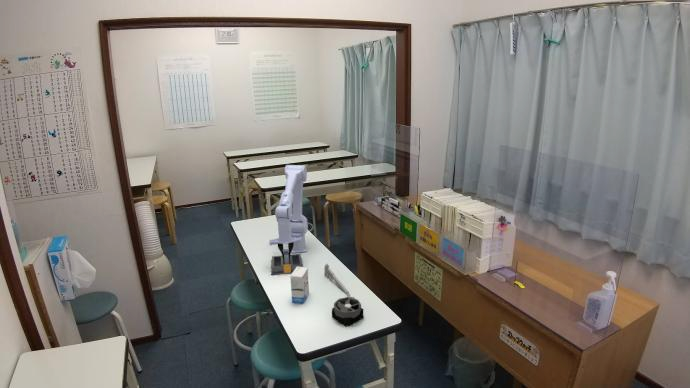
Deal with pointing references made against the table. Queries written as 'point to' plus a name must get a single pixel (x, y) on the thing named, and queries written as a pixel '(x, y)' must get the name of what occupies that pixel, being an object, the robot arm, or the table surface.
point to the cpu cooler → (347, 311)
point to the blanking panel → (286, 256)
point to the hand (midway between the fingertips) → (286, 257)
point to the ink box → (299, 284)
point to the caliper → (335, 279)
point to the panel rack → (282, 268)
